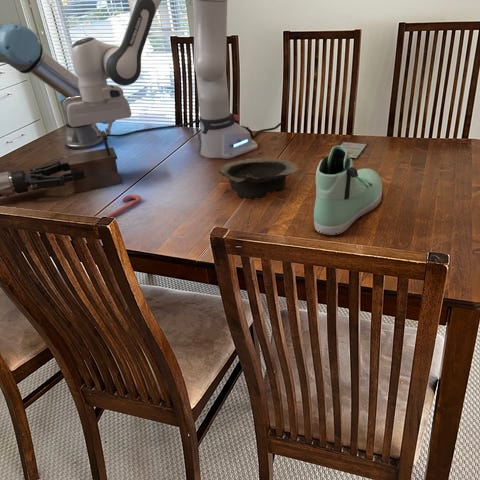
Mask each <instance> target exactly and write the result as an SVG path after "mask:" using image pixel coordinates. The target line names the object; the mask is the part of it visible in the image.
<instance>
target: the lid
mask: <svg viewBox="0 0 480 480" xmlns="http://www.w3.org/2000/svg"><path fill="white" fill-rule="evenodd" d="M101 134H102V138H103V144H104V148H101V149H95V150H89V151H84V152H79V153H73V154H68V155H66V156H67V157H66V158H67V163H69V167H70V168H74V167H79V166H85V165H90V164H95V163H100V162H105V161H111V160H118V155H117V153H116V151H115V148H114V147H113V146H111V147H109V143H108V140H109V137H107V134H106V130H101Z"/></svg>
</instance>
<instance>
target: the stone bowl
mask: <svg viewBox="0 0 480 480" xmlns="http://www.w3.org/2000/svg"><path fill="white" fill-rule="evenodd" d="M298 170H299V169H298V167H297V166H296V164H295V163H293V162H291V161H289V160H287V159H281V158H272V157H271V158H269V157H255V158H243V159H239V160H235V161H232V162H231V161H230V162H228V163H225V164H223V165H222V166H221V168H220V169H219V170H217V173H219V174H220V175H221V176H223V177H224V178H226V179H227V180H228V182H229V186H230V188H231V190H232V191H234V192H235V193H236V196H237V198H239V199H241V200H243V199H245V200H251V201H252V200H255V199H257V200H262V199H264V198H266V197H267V196H268V193H269V194H273V193H281V192H282V191H284V190H285V189H284V188H285V185H286V183H287V182H286V181H287V177H289V176H290V175H292V174H294V173H296V172H297V171H298Z"/></svg>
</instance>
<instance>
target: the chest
mask: <svg viewBox="0 0 480 480" xmlns="http://www.w3.org/2000/svg"><path fill="white" fill-rule="evenodd" d="M116 160H117V159H116ZM116 160H111V161H105V162H100V163H95V164H90V165H85V166H79V167H74V168H70V171H69V172H70V173H72V172H77V171H82V170H83V172H84V176H85V179H81V180H76V181H72V182H73V186H74V189H75V193H76V194H77V193H83V192H86V191H91V190H96V189H101V188H106V187H110V186H116V185H120V184H121V180H120V174H119V169H118V164H117V161H116Z"/></svg>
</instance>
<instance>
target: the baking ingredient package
mask: <svg viewBox="0 0 480 480" xmlns="http://www.w3.org/2000/svg"><path fill="white" fill-rule="evenodd" d="M340 146H342V147H344V148H345V149H346V150H347V152H348V153H349V156H350V159H352V158H354V159H357V158H358V157H359V155H360V154H361V153H362V151H363V150H364V149H365V147H366V146H367V143H358V142H347V141H343V142H342V143H341V144H340Z"/></svg>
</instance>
